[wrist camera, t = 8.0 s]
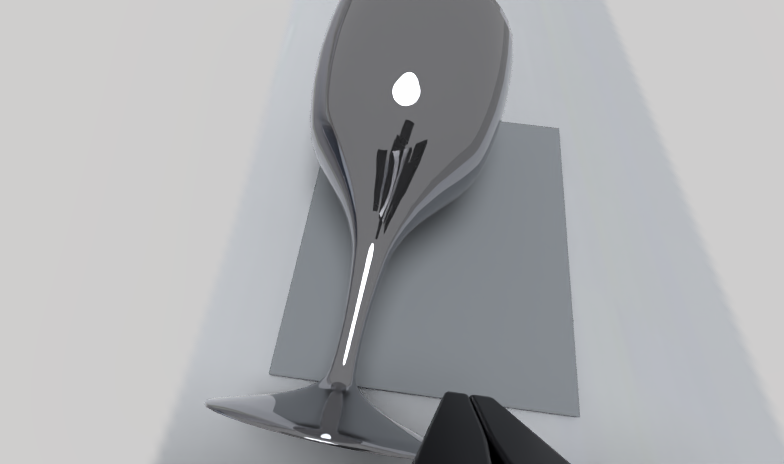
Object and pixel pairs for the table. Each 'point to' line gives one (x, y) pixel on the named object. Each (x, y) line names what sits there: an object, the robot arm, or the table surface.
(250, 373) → the table surface
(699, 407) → the table surface
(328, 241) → the placemat
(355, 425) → the wine glass
